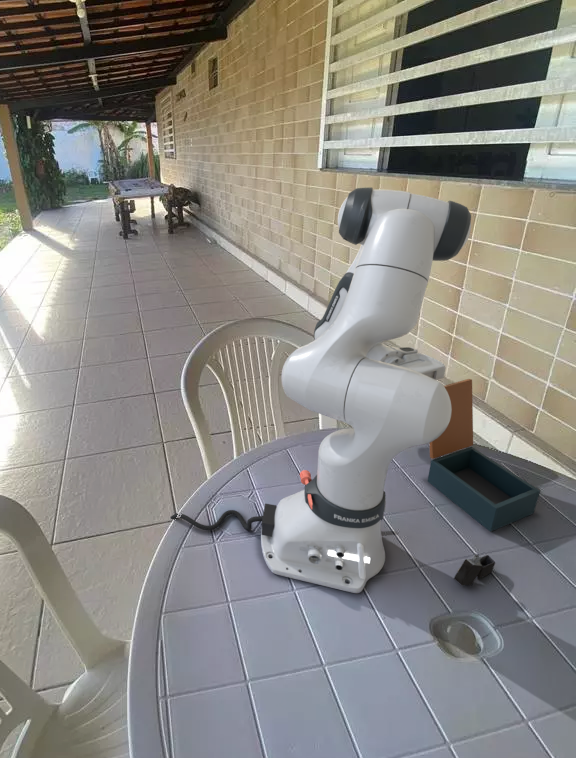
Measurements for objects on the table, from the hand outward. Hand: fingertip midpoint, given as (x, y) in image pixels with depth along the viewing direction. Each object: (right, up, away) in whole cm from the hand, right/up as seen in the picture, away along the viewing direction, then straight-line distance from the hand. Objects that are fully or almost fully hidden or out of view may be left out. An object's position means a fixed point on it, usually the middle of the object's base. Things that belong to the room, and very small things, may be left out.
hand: (430, 390), depth 95 cm
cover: (+2, -6, -4) cm, 7 cm away
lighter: (-6, -29, -23) cm, 37 cm away
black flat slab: (+6, -21, -7) cm, 23 cm away
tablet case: (+6, -21, -7) cm, 23 cm away
